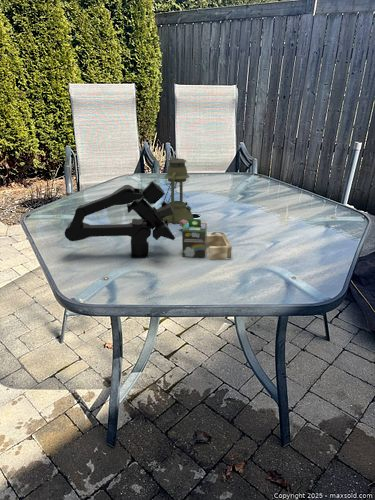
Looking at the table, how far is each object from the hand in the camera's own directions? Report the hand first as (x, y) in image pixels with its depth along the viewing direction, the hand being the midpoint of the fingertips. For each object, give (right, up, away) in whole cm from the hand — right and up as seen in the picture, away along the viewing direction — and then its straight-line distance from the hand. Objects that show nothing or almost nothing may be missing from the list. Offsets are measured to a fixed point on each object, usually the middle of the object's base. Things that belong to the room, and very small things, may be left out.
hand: (174, 239), depth 149 cm
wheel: (+19, 0, +17) cm, 25 cm away
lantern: (0, +11, +43) cm, 45 cm away
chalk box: (+8, -6, +3) cm, 10 cm away
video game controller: (+5, +4, +25) cm, 26 cm away
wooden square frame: (+17, -5, +4) cm, 19 cm away
